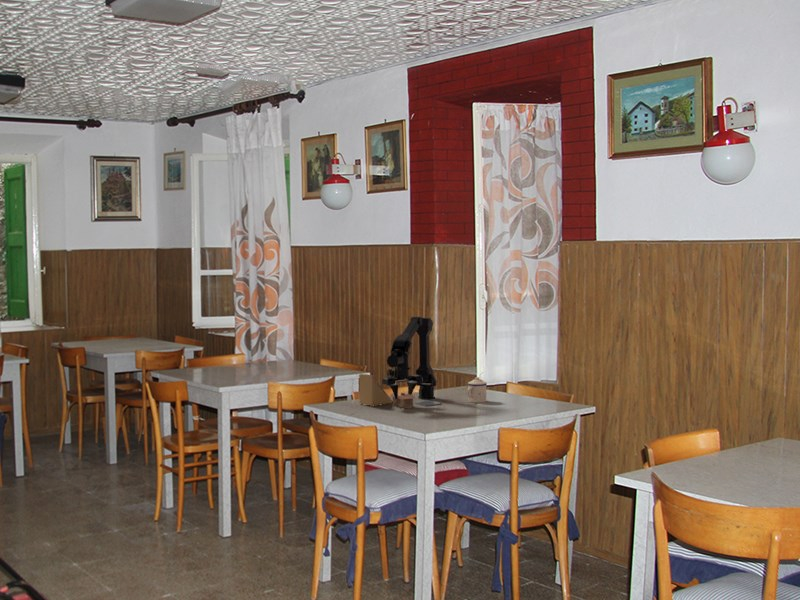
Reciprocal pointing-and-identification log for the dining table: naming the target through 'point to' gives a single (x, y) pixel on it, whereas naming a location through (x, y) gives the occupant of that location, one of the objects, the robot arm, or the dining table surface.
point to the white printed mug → (476, 391)
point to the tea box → (403, 403)
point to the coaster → (428, 403)
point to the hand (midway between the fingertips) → (402, 398)
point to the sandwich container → (372, 391)
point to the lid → (404, 396)
